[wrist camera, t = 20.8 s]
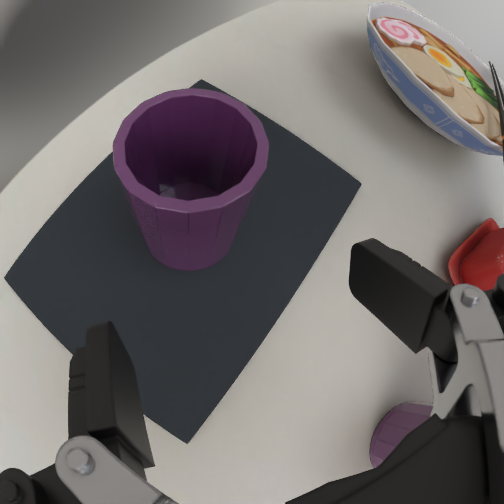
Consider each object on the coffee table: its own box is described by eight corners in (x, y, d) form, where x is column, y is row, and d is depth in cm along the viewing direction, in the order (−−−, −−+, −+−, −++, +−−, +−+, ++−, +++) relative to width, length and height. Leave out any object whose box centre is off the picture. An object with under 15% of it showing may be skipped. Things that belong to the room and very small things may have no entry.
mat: (187, 442, 16) (187, 444, 15) (6, 279, 16) (3, 277, 16) (359, 185, 23) (362, 183, 23) (201, 82, 24) (201, 79, 24)
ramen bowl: (368, 24, 34) (389, -15, 27) (486, 113, 34) (517, 85, 26) (303, 97, 25) (335, 28, 18) (485, 235, 25) (542, 205, 18)
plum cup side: (376, 489, 16) (450, 529, 8) (362, 423, 18) (448, 449, 10) (436, 451, 18) (514, 468, 10) (426, 388, 19) (513, 389, 11)
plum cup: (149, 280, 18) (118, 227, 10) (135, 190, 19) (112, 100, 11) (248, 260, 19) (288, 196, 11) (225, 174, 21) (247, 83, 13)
